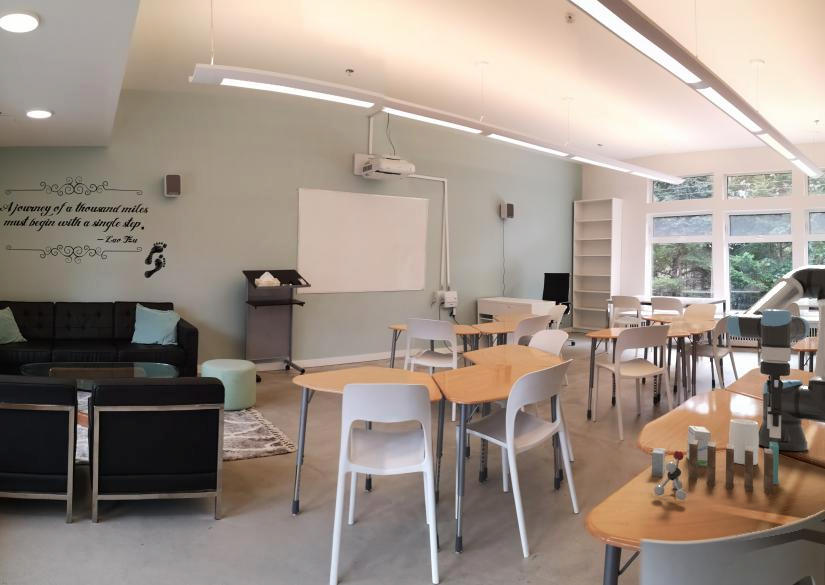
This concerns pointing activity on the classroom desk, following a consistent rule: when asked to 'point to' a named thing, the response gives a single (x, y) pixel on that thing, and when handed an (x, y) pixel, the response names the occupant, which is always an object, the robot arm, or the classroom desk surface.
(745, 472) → the domino
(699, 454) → the ink box
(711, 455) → the domino
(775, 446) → the teal tile
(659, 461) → the block
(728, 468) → the domino
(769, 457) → the domino
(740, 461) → the cup
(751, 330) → the robot arm
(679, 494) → the molecular model
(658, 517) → the classroom desk surface
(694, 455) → the domino
